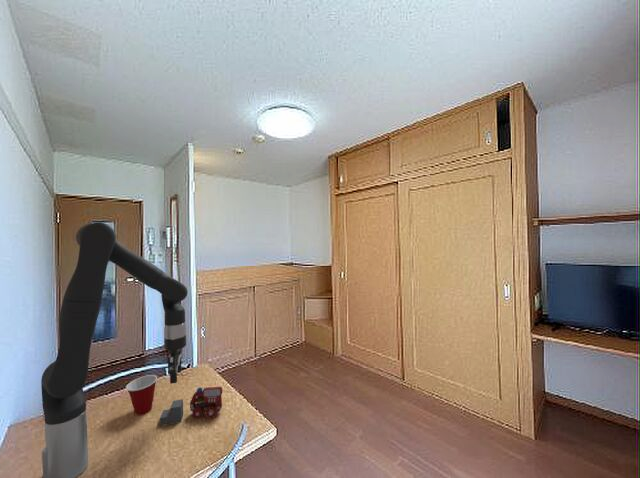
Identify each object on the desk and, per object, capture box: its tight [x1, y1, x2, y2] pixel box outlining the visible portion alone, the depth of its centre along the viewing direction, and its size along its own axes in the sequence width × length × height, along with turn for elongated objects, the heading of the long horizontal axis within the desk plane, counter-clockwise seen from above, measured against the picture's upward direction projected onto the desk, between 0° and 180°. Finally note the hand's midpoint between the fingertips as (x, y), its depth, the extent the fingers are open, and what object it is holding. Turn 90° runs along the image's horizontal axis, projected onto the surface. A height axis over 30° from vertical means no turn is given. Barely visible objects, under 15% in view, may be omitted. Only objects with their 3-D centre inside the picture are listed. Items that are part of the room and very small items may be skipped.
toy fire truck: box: [189, 386, 223, 420], centre depth 111 cm, size 7×12×10 cm, turn 90°
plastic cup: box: [125, 374, 158, 416], centre depth 114 cm, size 11×11×12 cm
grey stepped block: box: [159, 399, 184, 427], centre depth 108 cm, size 7×5×6 cm
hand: (176, 377), depth 108 cm, fingers open, 8 cm apart
